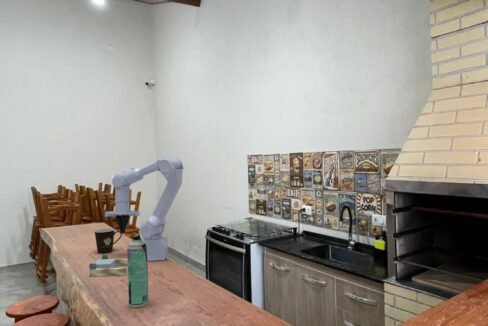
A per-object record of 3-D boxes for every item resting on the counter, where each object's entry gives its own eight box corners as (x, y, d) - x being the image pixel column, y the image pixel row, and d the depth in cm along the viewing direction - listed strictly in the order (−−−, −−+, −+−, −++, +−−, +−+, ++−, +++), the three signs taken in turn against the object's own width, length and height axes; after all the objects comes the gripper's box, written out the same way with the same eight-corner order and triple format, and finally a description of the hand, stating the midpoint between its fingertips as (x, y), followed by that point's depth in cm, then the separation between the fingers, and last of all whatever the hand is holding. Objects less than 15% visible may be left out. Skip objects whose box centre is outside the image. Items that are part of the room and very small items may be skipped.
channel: (136, 264, 142) (135, 253, 142) (125, 275, 129) (125, 263, 129) (103, 265, 142) (103, 254, 142) (89, 276, 128) (89, 264, 128)
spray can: (150, 299, 105) (148, 232, 105) (146, 307, 100) (144, 236, 100) (131, 300, 105) (130, 233, 105) (126, 308, 100) (124, 237, 100)
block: (115, 267, 140) (115, 258, 140) (110, 273, 133) (110, 263, 133) (97, 268, 139) (97, 259, 139) (91, 274, 132) (91, 264, 132)
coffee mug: (93, 255, 158) (93, 232, 158) (96, 250, 167) (95, 229, 166) (121, 252, 161) (120, 230, 161) (122, 248, 170) (121, 227, 170)
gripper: (141, 200, 159) (142, 230, 159) (109, 200, 159) (109, 231, 159) (137, 202, 152) (137, 233, 152) (103, 202, 152) (103, 234, 152)
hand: (122, 232), depth 155 cm, fingers closed
